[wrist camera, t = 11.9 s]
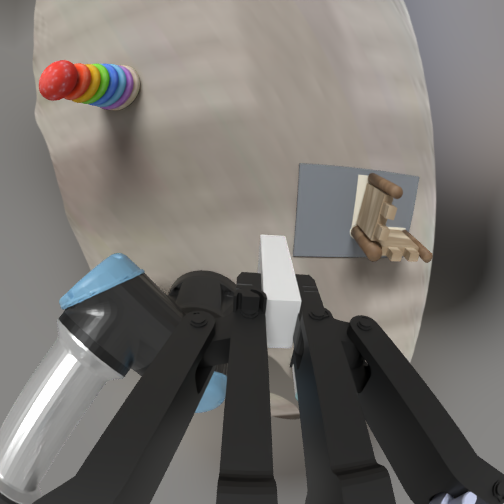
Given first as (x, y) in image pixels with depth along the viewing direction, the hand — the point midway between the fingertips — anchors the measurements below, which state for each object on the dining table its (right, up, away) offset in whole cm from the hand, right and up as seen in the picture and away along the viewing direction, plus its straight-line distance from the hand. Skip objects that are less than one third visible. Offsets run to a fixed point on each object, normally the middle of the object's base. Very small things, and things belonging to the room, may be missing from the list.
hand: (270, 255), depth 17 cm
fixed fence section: (+22, +4, +28) cm, 36 cm away
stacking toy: (-23, +27, +18) cm, 39 cm away
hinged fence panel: (+18, +9, +25) cm, 32 cm away
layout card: (+17, +7, +27) cm, 33 cm away
